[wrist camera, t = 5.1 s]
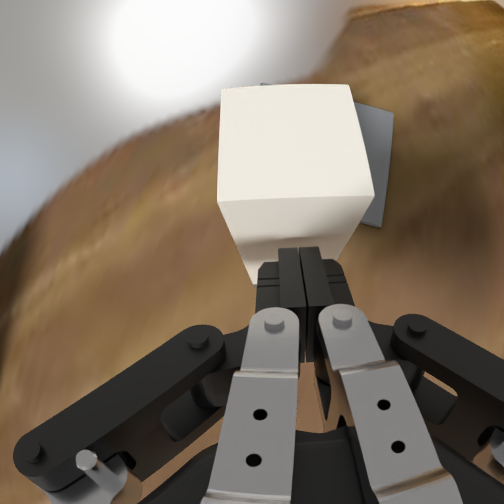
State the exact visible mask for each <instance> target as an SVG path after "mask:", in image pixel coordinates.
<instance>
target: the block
mask: <svg viewBox="0 0 504 504" xmlns="http://www.w3.org/2000/svg"><path fill="white" fill-rule="evenodd" d="M374 196H375V194H374V189H373V184H372V178H371V173H370V169H369V164H368V159H367V155H366V150H365V146H364V141H363V137H362V133H361V129H360V125H359V121H358V117H357V113H356V109H355V106H354V102H353V98H352V95H351V91H350V88H349V85H339V84H290V85H266V86H250V87H237V88H227V89H222V93H221V112H220V133H219V158H218V187H217V203H218V205H219V207H220V209H221V212H222V214H223V216H224V219H225V221H226V223H227V226H228V228H229V230H230V233H231V235H232V237H233V239H234V242H235V244H236V246H237V249H238V251H239V253H240V256H241V258H242V260H243V262H244V265H245V267H246V269H247V272H248V274H249V276H250V278H251V281H252V283H253V285H254V286H257V278H258V269H259V268H260V267H261V265H262V264H263V263H264V262H276V261H278V248H293V247H297V248H298V254H299V247H314V246H318V247H319V250H320V253H321V257H322V259H334V260H335V261H337V259H338V257H339V256H340V254H341V252H342V251H343V249H344V248H345V246H346V244H347V243H348V241H349V239H350V238H351V236H352V234H353V233H354V231H355V229H356V227H357V226H358V224H359V222H360V221H361V219H362V217H363V215H364V214H365V212H366V210H367V209H368V207H369V205H370V203H371V202H372V200H373V198H374Z"/></svg>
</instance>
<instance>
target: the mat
mask: <svg viewBox="0 0 504 504" xmlns="http://www.w3.org/2000/svg"><path fill="white" fill-rule="evenodd" d="M266 85H271V84H265V83H261V84H260V86H266ZM354 106H355V109H356V113H357V117H358V121H359V125H360V129H361V133H362V137H363V141H364V146H365V150H366V155H367V159H368V164H369V169H370V173H371V178H372V184H373V189H374V194H375V196H374V198H373V200H372V202H371V203H370V205H369V207H368V209H367V210H366V212H365V214H364V215H363V217H362V219H361V221H360V223H363V224H367V225H370V226H374V227H377V228H380V227H381V226H382V219H383V213H384V206H385V199H386V191H387V183H388V175H389V166H390V156H391V146H392V134H393V120H394V113H392V112H388V111H385V110H382V109H378V108H375V107H371V106H368V105H364V104H360V103H357V102H354Z"/></svg>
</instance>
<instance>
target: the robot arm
mask: <svg viewBox="0 0 504 504" xmlns="http://www.w3.org/2000/svg"><path fill="white" fill-rule="evenodd" d="M305 354H306V362H314V367H315V374H314V384H315V389H316V394H317V398H318V403H319V408H320V413H321V418H322V423H323V431H324V433H311V432H305V431H298V430H296V410H297V386H298V378H299V376H300V363H304V359H305ZM425 371H426V372H427V373H429V374H430V375H432V376H434V377H435V378H437V379H438V380H440V381H442V382H443V383H445V384H446V385H448V386H450V387H451V388H453V389H454V390H455V391H456V393H457V395H458V396H454V395H452V394H451V393H449V392H447V391H446V390H444V389H443V388H441V387H439V386H438V385H436V384H435V383H433V382H432V381H430V380H428V379H427V378H425V377H424V376H423V375H424V372H425ZM223 416H224V419H223V424H222V428H221V433H220V437H219V442H218V443H217V444H214V445H212V446H210V447H208V448H206V449H204V450H202V451H201V452H199V453H198V454H197V455H195V456H194V457H193V458H191V459H190V460H189V461H188V462H187V463H186V464H185V465H183V466H182V467H181V468H180V469H179V470H178V471H177V472H175V473H174V474H173V475H172V476H171V477H170V478H168V479H167V480H166V481H165V482H164V483H162V484H161V485H160V486H159V487H158V488H156V489H155V490H154V491H153V492H151V493H150V494H149V495H148V496H146V497H145V498H144V499H143V500H141V501H140V502H139V503H138V501H139V500H140V498H141V495H142V484H141V482H143V481H144V480H145V479H147V478H148V477H149V476H151V475H152V474H153V473H155V472H156V471H157V470H159V469H160V468H161V467H162V466H164V465H165V464H166V463H168V462H169V461H170V460H171V459H173V458H174V457H175V456H176V455H178V454H179V453H180V452H181V451H183V450H184V449H185V448H186V447H188V446H189V445H190V444H191V443H193V442H194V441H195V440H196V439H197V438H199V437H200V436H201V435H202V434H203V433H204V432H206V431H207V430H208V429H209V428H210V427H212V426H213V425H214V424H215V423H216V422H217V421H218V420H220V419H221V418H222V417H223ZM466 458H467V459H466ZM13 460H14V464H15V466H16V468H17V469H18V471H19V472H20V473H22V474H23V475H24V476H25V477H27V478H28V479H29V480H31V481H32V482H33V483H34V484H35V485H36V486H37V487H38V488H39V489H41V490H42V491H43V492H45V493H46V495H47V496H48V498H49V500H50V502H51V503H52V504H137V503H138V504H504V360H503V359H501V358H499V357H498V356H496V355H494V354H492V353H490V352H489V351H487V350H485V349H483V348H482V347H480V346H478V345H476V344H475V343H473V342H471V341H469V340H467V339H466V338H464V337H462V336H460V335H458V334H457V333H455V332H453V331H451V330H449V329H447V328H446V327H444V326H442V325H440V324H438V323H437V322H435V321H433V320H431V319H429V318H427V317H425V316H422V315H418V314H407V315H403V316H401V317H400V318H398V319H397V320H396V322H395V324H394V326H389V325H382V324H376V323H373V322H370V321H368V320H367V318H366V316H365V314H364V313H363V312H362V311H361V310H360V309H358V308H357V307H355V305H354V302H353V299H352V296H351V293H350V290H349V287H348V284H347V281H346V278H345V276H344V272H343V269H342V267H341V265H340V264H339V263H337V262H336V261H335V260H334V259H322V257H321V253H320V250H319V247H318V246H314V247H299V254H298V248H297V247H293V248H278V261H276V262H264V263H263V264H262V265H261V267H260V268H259V269H258V278H257V294H256V310H255V315H254V316H253V317H252V318H251V320H250V324H249V325H248V326H247V327H246V328H244V329H242V330H240V331H237V332H234V333H230V334H226V335H223V334H222V332H221V331H220V330H219V329H217V328H216V327H214V326H210V325H195V326H192V327H189V328H187V329H185V330H183V331H182V332H180V333H179V334H177V335H176V336H174V337H173V338H171V339H170V340H168V341H167V342H165V343H164V344H163V345H161V346H160V347H158V348H157V349H155V350H154V351H152V352H151V353H149V354H148V355H146V356H145V357H143V358H142V359H140V360H139V361H137V362H136V363H134V364H133V365H131V366H130V367H128V368H127V369H125V370H124V371H122V372H121V373H119V374H118V375H116V376H115V377H113V378H112V379H110V380H109V381H107V382H106V383H104V384H103V385H101V386H100V387H98V388H97V389H95V390H94V391H92V392H91V393H89V394H87V395H86V396H84V397H83V398H81V399H80V400H78V401H77V402H75V403H74V404H72V405H71V406H69V407H67V408H66V409H64V410H63V411H61V412H60V413H58V414H57V415H55V416H53V417H52V418H50V419H49V420H47V421H46V422H44V423H42V424H41V425H39V426H38V427H36V428H34V429H33V430H31V431H30V432H28V433H27V434H25V435H24V436H22V437H21V438H20V439H19V441H18V442H17V444H16V446H15V448H14V452H13ZM469 460H470V461H469ZM472 462H473V463H472Z"/></svg>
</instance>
